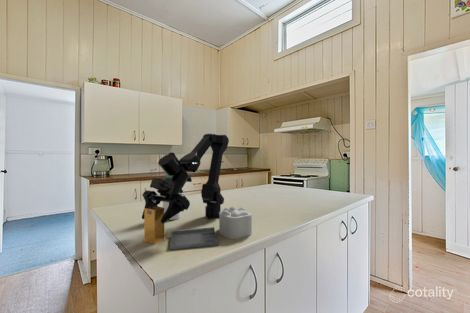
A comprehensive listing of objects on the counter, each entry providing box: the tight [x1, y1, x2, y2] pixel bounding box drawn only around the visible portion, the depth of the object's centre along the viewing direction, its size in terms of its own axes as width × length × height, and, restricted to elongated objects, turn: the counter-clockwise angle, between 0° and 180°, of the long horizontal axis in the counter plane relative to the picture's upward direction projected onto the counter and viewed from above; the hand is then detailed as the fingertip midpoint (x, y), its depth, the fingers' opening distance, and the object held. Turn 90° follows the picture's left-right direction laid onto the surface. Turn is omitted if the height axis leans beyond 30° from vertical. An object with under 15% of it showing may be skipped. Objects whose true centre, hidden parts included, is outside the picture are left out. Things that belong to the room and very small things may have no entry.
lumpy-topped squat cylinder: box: [218, 206, 253, 240], centre depth 83 cm, size 10×13×9 cm
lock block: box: [143, 205, 165, 245], centre depth 74 cm, size 4×5×11 cm
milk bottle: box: [162, 174, 181, 221], centre depth 102 cm, size 8×8×20 cm
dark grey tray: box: [169, 226, 220, 251], centre depth 74 cm, size 15×12×2 cm
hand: (151, 220), depth 73 cm, fingers open, 9 cm apart
